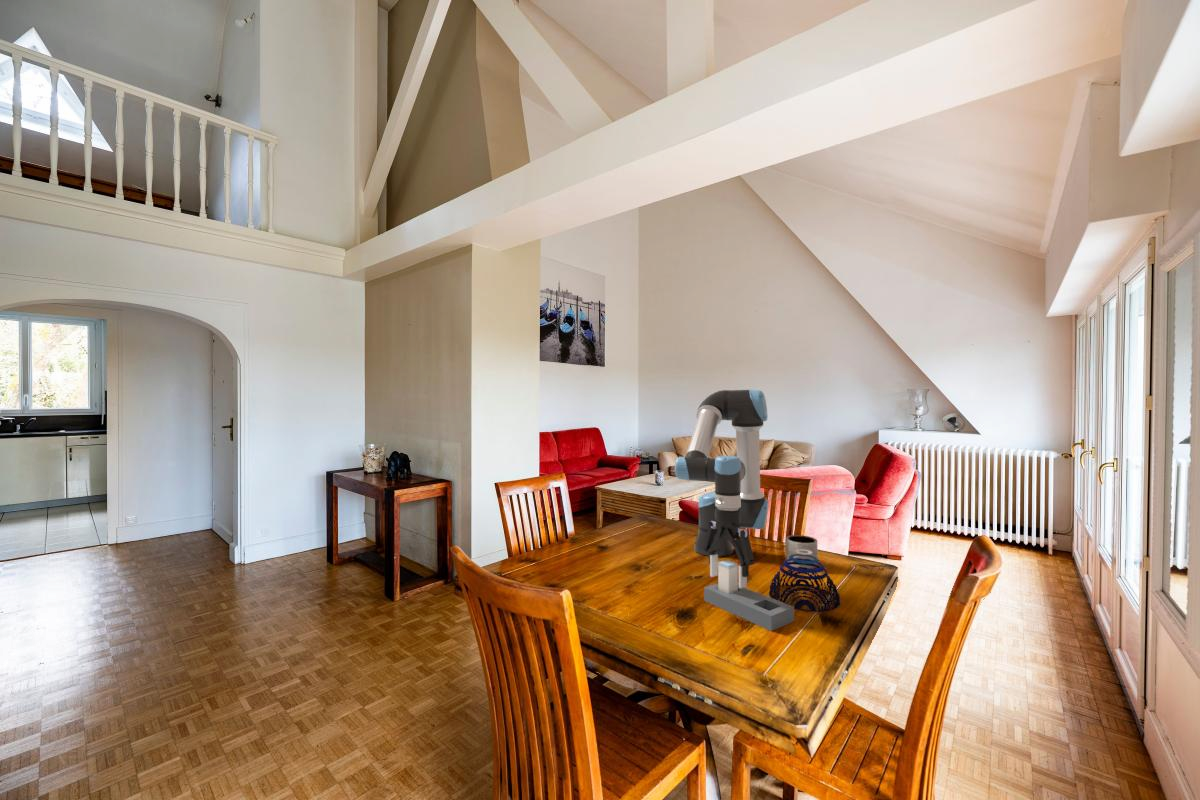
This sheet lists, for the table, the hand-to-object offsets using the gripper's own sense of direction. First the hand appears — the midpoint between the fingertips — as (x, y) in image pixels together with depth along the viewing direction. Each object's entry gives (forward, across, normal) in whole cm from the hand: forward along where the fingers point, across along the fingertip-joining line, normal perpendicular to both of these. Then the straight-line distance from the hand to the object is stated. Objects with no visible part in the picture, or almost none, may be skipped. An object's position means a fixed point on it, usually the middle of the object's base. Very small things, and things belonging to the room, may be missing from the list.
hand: (728, 581), depth 150 cm
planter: (+7, -7, +48) cm, 49 cm away
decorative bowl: (+7, +11, +22) cm, 25 cm away
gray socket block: (+6, +7, 0) cm, 9 cm away
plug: (+6, 0, 0) cm, 6 cm away
